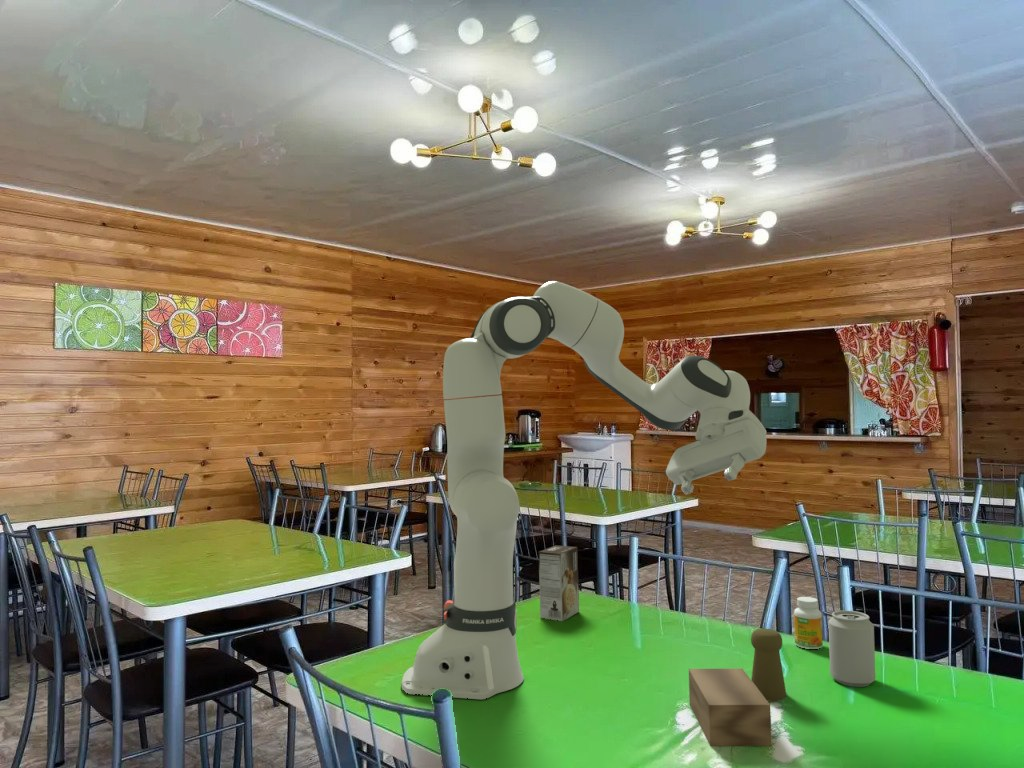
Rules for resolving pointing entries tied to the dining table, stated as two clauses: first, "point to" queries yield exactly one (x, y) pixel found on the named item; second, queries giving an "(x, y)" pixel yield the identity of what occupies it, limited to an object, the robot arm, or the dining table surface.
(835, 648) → the can
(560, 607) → the coffee box
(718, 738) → the walnut block
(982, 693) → the dining table surface
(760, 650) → the cork
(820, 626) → the supplement bottle
